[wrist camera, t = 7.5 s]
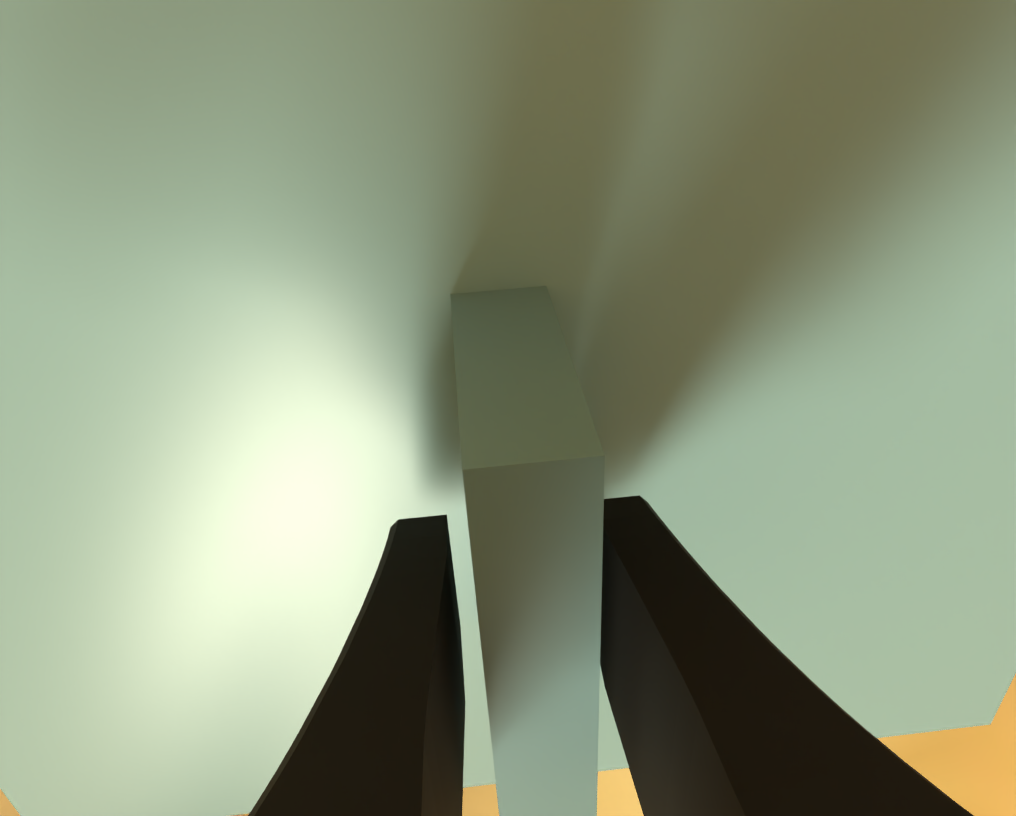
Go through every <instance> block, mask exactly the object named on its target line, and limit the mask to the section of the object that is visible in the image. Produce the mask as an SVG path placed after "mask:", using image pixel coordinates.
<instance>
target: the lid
mask: <svg viewBox="0 0 1016 816" xmlns="http://www.w3.org/2000/svg"><path fill="white" fill-rule="evenodd" d="M639 495H640V496H641V497H642V498H643V499H645V500H646V501H647V502H648V503H649V504H650V506H651V507H652V508H653V510H654V511H655V512H656V513H657V515H658V516H659V517H660V518H661V520H662V521H663V522H664V523H665V525H666V526H667V527H668V528H669V530H670V531H671V532H672V533H673V534H674V536H675V537H676V538H677V539H678V540H679V542H680V543H681V544H682V545H683V546H684V548H685V549H686V550H687V551H688V552H689V553H690V555H691V556H692V557H693V558H694V559H695V560H696V561H697V563H698V564H699V565H700V566H701V567H702V568H703V570H704V571H705V572H706V573H707V574H708V575H709V576H710V577H711V579H712V580H713V581H714V582H715V583H716V584H717V585H718V586H719V587H720V589H721V590H722V591H723V592H724V593H725V594H726V595H727V596H728V597H729V598H730V599H731V600H732V601H733V602H734V603H735V604H736V605H737V607H738V608H739V609H740V610H741V611H742V612H743V613H744V614H745V615H746V616H747V617H748V618H749V619H750V620H751V621H752V622H753V623H754V625H755V626H756V627H757V628H758V629H759V630H760V631H761V632H762V633H763V634H764V635H765V636H766V637H767V638H768V639H769V640H770V641H771V642H772V643H773V644H774V645H775V646H776V647H777V648H778V649H779V650H780V651H781V652H782V653H783V654H784V655H785V656H786V657H787V658H788V659H790V660H791V661H792V662H793V663H794V664H795V665H796V666H797V667H798V668H799V669H800V670H801V671H802V672H803V673H804V674H805V675H806V676H807V677H808V678H809V679H810V680H812V681H813V682H814V683H815V684H816V685H817V686H818V687H819V688H820V689H821V690H822V691H823V692H824V693H826V694H827V695H828V696H829V697H830V698H831V699H832V700H833V701H834V702H835V703H837V704H838V705H839V706H840V707H841V708H842V709H843V710H844V711H846V712H847V713H848V714H849V715H850V716H851V717H852V718H853V719H855V720H856V721H857V722H858V723H859V724H860V725H862V726H863V727H864V728H865V729H866V730H867V731H869V732H870V733H871V734H872V735H873V736H875V737H876V738H881V737H889V736H898V735H906V734H914V733H923V732H931V731H939V730H948V729H956V728H964V727H973V726H981V725H989V724H991V722H992V720H993V718H994V716H995V714H996V712H997V710H998V708H999V706H1000V704H1001V702H1002V700H1003V698H1004V696H1005V694H1006V692H1007V690H1008V688H1009V686H1010V684H1011V682H1012V680H1013V678H1014V676H1015V674H1016V0H0V789H1V790H2V792H3V793H4V794H5V796H6V797H7V798H8V800H9V801H10V802H11V804H12V805H13V806H14V808H15V809H16V810H17V812H18V813H19V814H20V816H231V815H239V814H248V813H250V812H251V810H252V809H253V807H254V806H255V804H256V803H257V801H258V799H259V798H260V796H261V795H262V793H263V792H264V790H265V788H266V787H267V785H268V783H269V782H270V780H271V779H272V777H273V775H274V774H275V772H276V770H277V769H278V767H279V765H280V764H281V762H282V760H283V759H284V757H285V755H286V753H287V752H288V750H289V748H290V747H291V745H292V743H293V741H294V740H295V738H296V736H297V734H298V733H299V731H300V729H301V727H302V725H303V723H304V721H305V720H306V718H307V716H308V714H309V712H310V710H311V708H312V707H313V705H314V703H315V701H316V699H317V697H318V695H319V694H320V692H321V690H322V688H323V686H324V684H325V682H326V681H327V679H328V677H329V675H330V673H331V671H332V669H333V667H334V665H335V663H336V661H337V659H338V657H339V655H340V653H341V650H342V648H343V646H344V644H345V642H346V640H347V638H348V635H349V633H350V631H351V629H352V627H353V625H354V622H355V620H356V618H357V616H358V614H359V612H360V610H361V607H362V605H363V602H364V600H365V598H366V595H367V593H368V590H369V588H370V586H371V583H372V581H373V578H374V576H375V573H376V570H377V568H378V565H379V562H380V559H381V557H382V554H383V551H384V548H385V545H386V541H387V538H388V534H389V531H390V527H391V526H392V525H393V524H394V523H395V522H396V521H397V520H398V519H407V518H417V517H427V516H437V515H447V520H448V529H449V537H450V545H451V553H452V561H453V569H454V577H455V585H456V593H457V601H458V609H459V617H460V625H461V640H462V656H463V671H464V687H465V734H464V766H463V788H464V787H473V786H481V785H489V784H496V789H497V799H498V808H499V816H597V774H598V771H606V770H614V769H623V768H629V766H628V762H627V759H626V756H625V753H624V749H623V746H622V743H621V739H620V736H619V733H618V730H617V726H616V723H615V720H614V716H613V713H612V710H611V706H610V703H609V700H608V696H607V693H606V690H605V686H604V681H603V676H602V671H601V666H600V644H601V600H602V557H603V513H604V499H609V498H619V497H629V496H639Z"/></svg>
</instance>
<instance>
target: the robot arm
mask: <svg viewBox="0 0 1016 816" xmlns="http://www.w3.org/2000/svg"><path fill="white" fill-rule="evenodd" d="M600 666H601V671H602V676H603V681H604V686H605V690H606V693H607V696H608V700H609V703H610V706H611V710H612V713H613V716H614V720H615V723H616V726H617V730H618V733H619V736H620V739H621V743H622V746H623V749H624V753H625V756H626V759H627V762H628V766H629V769H630V772H631V775H632V779H633V782H634V785H635V788H636V792H637V795H638V798H639V801H640V805H641V808H642V811H643V814H644V816H973V815H972V814H971V813H969V812H968V811H967V810H965V809H964V808H963V807H961V806H960V805H959V804H957V803H956V802H955V801H953V800H952V799H951V798H950V797H948V796H947V795H946V794H945V793H943V792H942V791H941V790H940V789H938V788H937V787H936V786H935V785H933V784H932V783H931V782H930V781H928V780H927V779H926V778H925V777H923V776H922V775H921V774H920V773H918V772H917V771H916V770H915V769H913V768H912V767H911V766H909V765H908V764H907V763H906V762H904V761H903V760H902V759H901V758H899V757H898V756H897V755H896V754H895V753H894V752H892V751H891V750H890V749H889V748H888V747H886V746H885V745H884V744H883V743H882V742H881V741H879V740H878V739H877V738H876V737H875V736H873V735H872V734H871V733H870V732H869V731H867V730H866V729H865V728H864V727H863V726H862V725H860V724H859V723H858V722H857V721H856V720H855V719H853V718H852V717H851V716H850V715H849V714H848V713H847V712H846V711H844V710H843V709H842V708H841V707H840V706H839V705H838V704H837V703H835V702H834V701H833V700H832V699H831V698H830V697H829V696H828V695H827V694H826V693H824V692H823V691H822V690H821V689H820V688H819V687H818V686H817V685H816V684H815V683H814V682H813V681H812V680H810V679H809V678H808V677H807V676H806V675H805V674H804V673H803V672H802V671H801V670H800V669H799V668H798V667H797V666H796V665H795V664H794V663H793V662H792V661H791V660H790V659H788V658H787V657H786V656H785V655H784V654H783V653H782V652H781V651H780V650H779V649H778V648H777V647H776V646H775V645H774V644H773V643H772V642H771V641H770V640H769V639H768V638H767V637H766V636H765V635H764V634H763V633H762V632H761V631H760V630H759V629H758V628H757V627H756V626H755V625H754V623H753V622H752V621H751V620H750V619H749V618H748V617H747V616H746V615H745V614H744V613H743V612H742V611H741V610H740V609H739V608H738V607H737V605H736V604H735V603H734V602H733V601H732V600H731V599H730V598H729V597H728V596H727V595H726V594H725V593H724V592H723V591H722V590H721V589H720V587H719V586H718V585H717V584H716V583H715V582H714V581H713V580H712V579H711V577H710V576H709V575H708V574H707V573H706V572H705V571H704V570H703V568H702V567H701V566H700V565H699V564H698V563H697V561H696V560H695V559H694V558H693V557H692V556H691V555H690V553H689V552H688V551H687V550H686V549H685V548H684V546H683V545H682V544H681V543H680V542H679V540H678V539H677V538H676V537H675V536H674V534H673V533H672V532H671V531H670V530H669V528H668V527H667V526H666V525H665V523H664V522H663V521H662V520H661V518H660V517H659V516H658V515H657V513H656V512H655V511H654V510H653V508H652V507H651V506H650V504H649V503H648V502H647V501H646V500H645V499H643V498H642V497H641V496H640V495H639V496H629V497H619V498H609V499H604V513H603V557H602V600H601V644H600ZM464 734H465V687H464V671H463V656H462V640H461V625H460V617H459V609H458V601H457V593H456V585H455V577H454V569H453V561H452V553H451V545H450V537H449V529H448V520H447V515H437V516H427V517H417V518H407V519H398V520H397V521H396V522H395V523H394V524H393V525H392V526H391V527H390V531H389V534H388V538H387V541H386V545H385V548H384V551H383V554H382V557H381V559H380V562H379V565H378V568H377V570H376V573H375V576H374V578H373V581H372V583H371V586H370V588H369V590H368V593H367V595H366V598H365V600H364V602H363V605H362V607H361V610H360V612H359V614H358V616H357V618H356V620H355V622H354V625H353V627H352V629H351V631H350V633H349V635H348V638H347V640H346V642H345V644H344V646H343V648H342V650H341V653H340V655H339V657H338V659H337V661H336V663H335V665H334V667H333V669H332V671H331V673H330V675H329V677H328V679H327V681H326V682H325V684H324V686H323V688H322V690H321V692H320V694H319V695H318V697H317V699H316V701H315V703H314V705H313V707H312V708H311V710H310V712H309V714H308V716H307V718H306V720H305V721H304V723H303V725H302V727H301V729H300V731H299V733H298V734H297V736H296V738H295V740H294V741H293V743H292V745H291V747H290V748H289V750H288V752H287V753H286V755H285V757H284V759H283V760H282V762H281V764H280V765H279V767H278V769H277V770H276V772H275V774H274V775H273V777H272V779H271V780H270V782H269V783H268V785H267V787H266V788H265V790H264V792H263V793H262V795H261V796H260V798H259V799H258V801H257V803H256V804H255V806H254V807H253V809H252V810H251V812H250V814H249V815H248V816H462V796H463V766H464Z"/></svg>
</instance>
